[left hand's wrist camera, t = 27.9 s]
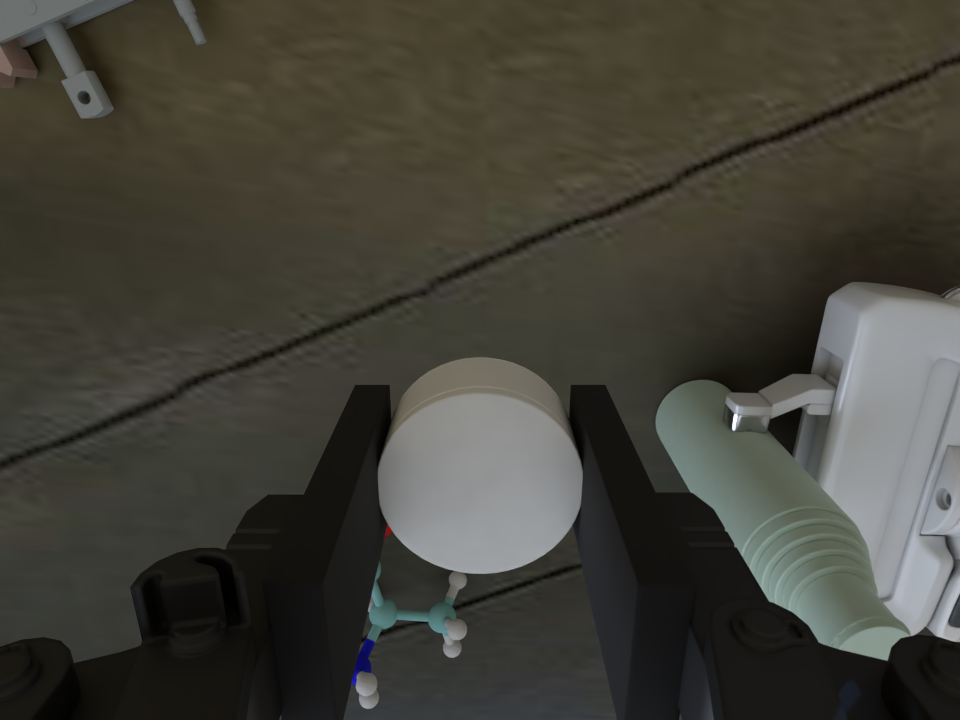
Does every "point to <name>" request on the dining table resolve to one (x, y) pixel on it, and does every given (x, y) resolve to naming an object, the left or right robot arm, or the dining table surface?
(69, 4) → the clamp
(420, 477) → the cap
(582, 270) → the dining table surface
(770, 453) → the bottle
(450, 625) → the molecular model
